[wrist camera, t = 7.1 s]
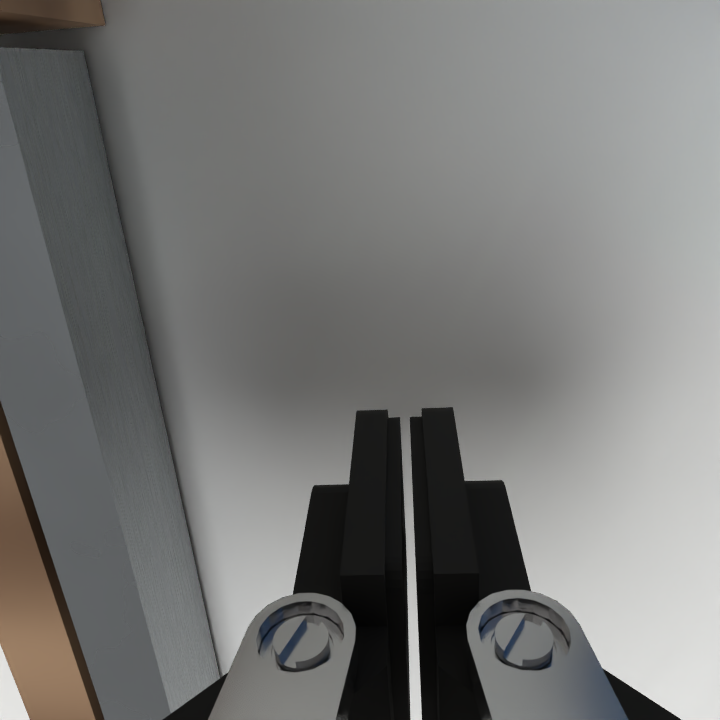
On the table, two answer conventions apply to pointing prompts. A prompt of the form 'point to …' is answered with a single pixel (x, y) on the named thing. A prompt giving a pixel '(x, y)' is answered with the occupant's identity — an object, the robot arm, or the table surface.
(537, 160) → the table surface
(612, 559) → the table surface
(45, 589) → the brown bar with block
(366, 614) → the robot arm
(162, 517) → the long gray metal bar
